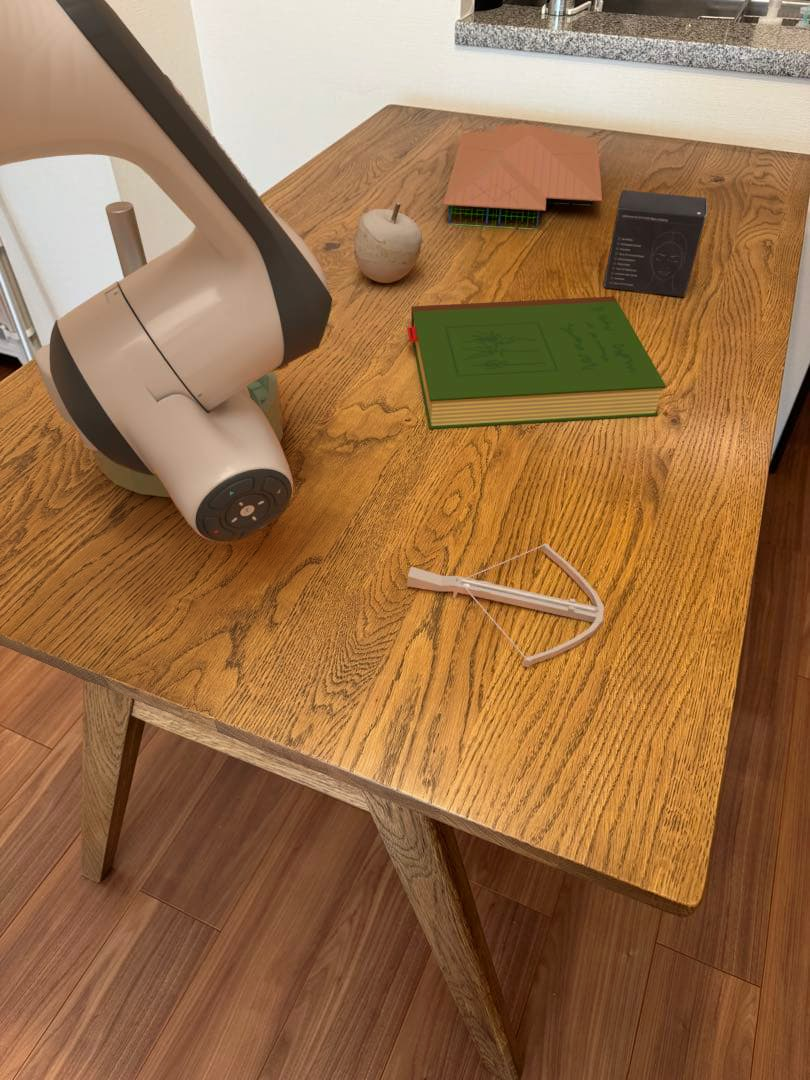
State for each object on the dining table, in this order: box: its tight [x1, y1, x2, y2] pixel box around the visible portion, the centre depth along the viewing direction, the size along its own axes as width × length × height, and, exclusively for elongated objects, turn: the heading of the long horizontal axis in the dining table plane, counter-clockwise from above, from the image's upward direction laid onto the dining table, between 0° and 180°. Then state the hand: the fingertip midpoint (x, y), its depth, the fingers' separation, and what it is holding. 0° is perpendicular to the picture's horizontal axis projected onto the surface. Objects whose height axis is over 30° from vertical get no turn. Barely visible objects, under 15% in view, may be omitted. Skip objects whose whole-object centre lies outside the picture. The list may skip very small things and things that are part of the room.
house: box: [442, 123, 603, 230], centre depth 123 cm, size 23×33×8 cm
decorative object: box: [353, 201, 423, 284], centre depth 100 cm, size 9×9×10 cm
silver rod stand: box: [104, 201, 148, 279], centre depth 71 cm, size 7×7×22 cm
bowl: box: [91, 371, 284, 498], centre depth 77 cm, size 19×19×6 cm
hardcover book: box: [406, 296, 667, 430], centre depth 87 cm, size 25×19×4 cm
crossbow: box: [406, 543, 605, 668], centre depth 64 cm, size 16×13×2 cm
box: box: [602, 189, 708, 298], centre depth 99 cm, size 11×7×10 cm, turn 74°
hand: (144, 313), depth 71 cm, fingers closed on silver rod stand, 2 cm apart
